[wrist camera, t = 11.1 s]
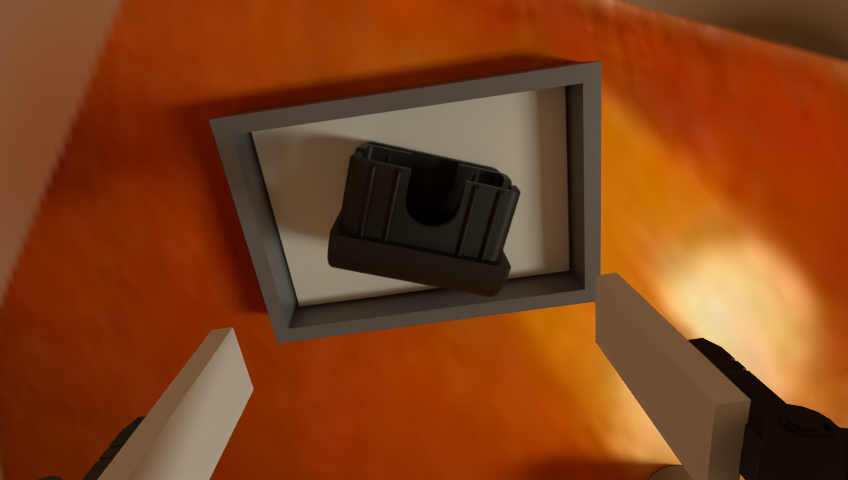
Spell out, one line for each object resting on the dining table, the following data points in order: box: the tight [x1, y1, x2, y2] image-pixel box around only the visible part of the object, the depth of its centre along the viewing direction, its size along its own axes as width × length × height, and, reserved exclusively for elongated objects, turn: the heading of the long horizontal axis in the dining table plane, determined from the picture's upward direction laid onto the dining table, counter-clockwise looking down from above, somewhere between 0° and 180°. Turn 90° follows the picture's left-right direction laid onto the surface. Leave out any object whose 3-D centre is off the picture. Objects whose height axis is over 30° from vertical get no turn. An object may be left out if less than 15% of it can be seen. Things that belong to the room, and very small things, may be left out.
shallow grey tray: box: [209, 61, 601, 343], centre depth 29 cm, size 22×15×4 cm
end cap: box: [327, 141, 520, 297], centre depth 27 cm, size 10×7×7 cm
